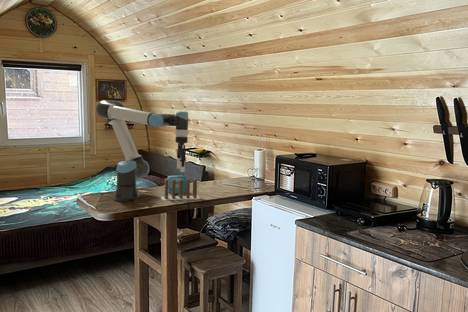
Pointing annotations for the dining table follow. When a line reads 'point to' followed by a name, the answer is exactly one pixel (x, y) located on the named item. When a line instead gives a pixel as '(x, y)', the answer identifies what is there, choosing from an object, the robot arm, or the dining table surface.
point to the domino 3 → (180, 188)
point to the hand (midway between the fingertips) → (180, 170)
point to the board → (179, 198)
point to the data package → (176, 183)
